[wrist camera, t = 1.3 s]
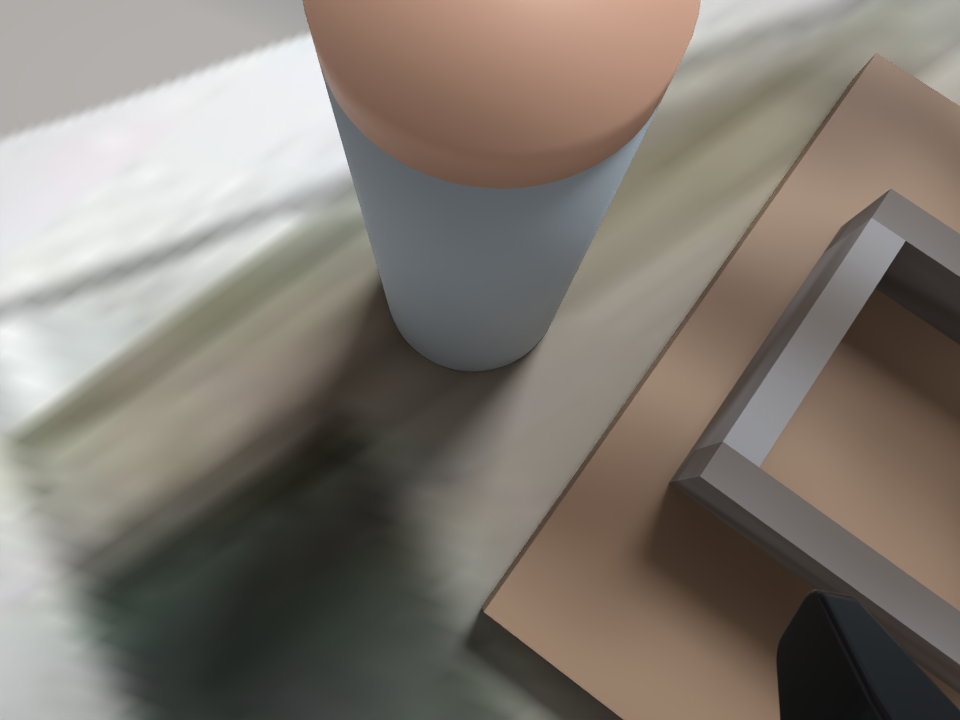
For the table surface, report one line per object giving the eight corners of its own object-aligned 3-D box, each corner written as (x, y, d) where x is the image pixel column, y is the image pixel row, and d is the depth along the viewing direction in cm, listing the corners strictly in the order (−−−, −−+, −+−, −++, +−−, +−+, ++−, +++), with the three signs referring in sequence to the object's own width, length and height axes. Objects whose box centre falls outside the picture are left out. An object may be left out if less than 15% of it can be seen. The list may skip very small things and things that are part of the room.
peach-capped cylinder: (490, 406, 21) (549, 232, 9) (351, 303, 22) (213, -4, 9) (591, 272, 22) (777, -62, 10) (455, 176, 23) (461, -261, 10)
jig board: (899, 928, 19) (1005, 1024, 15) (481, 606, 20) (488, 624, 17) (1223, 314, 23) (1369, 273, 19) (855, 76, 24) (927, -4, 20)
